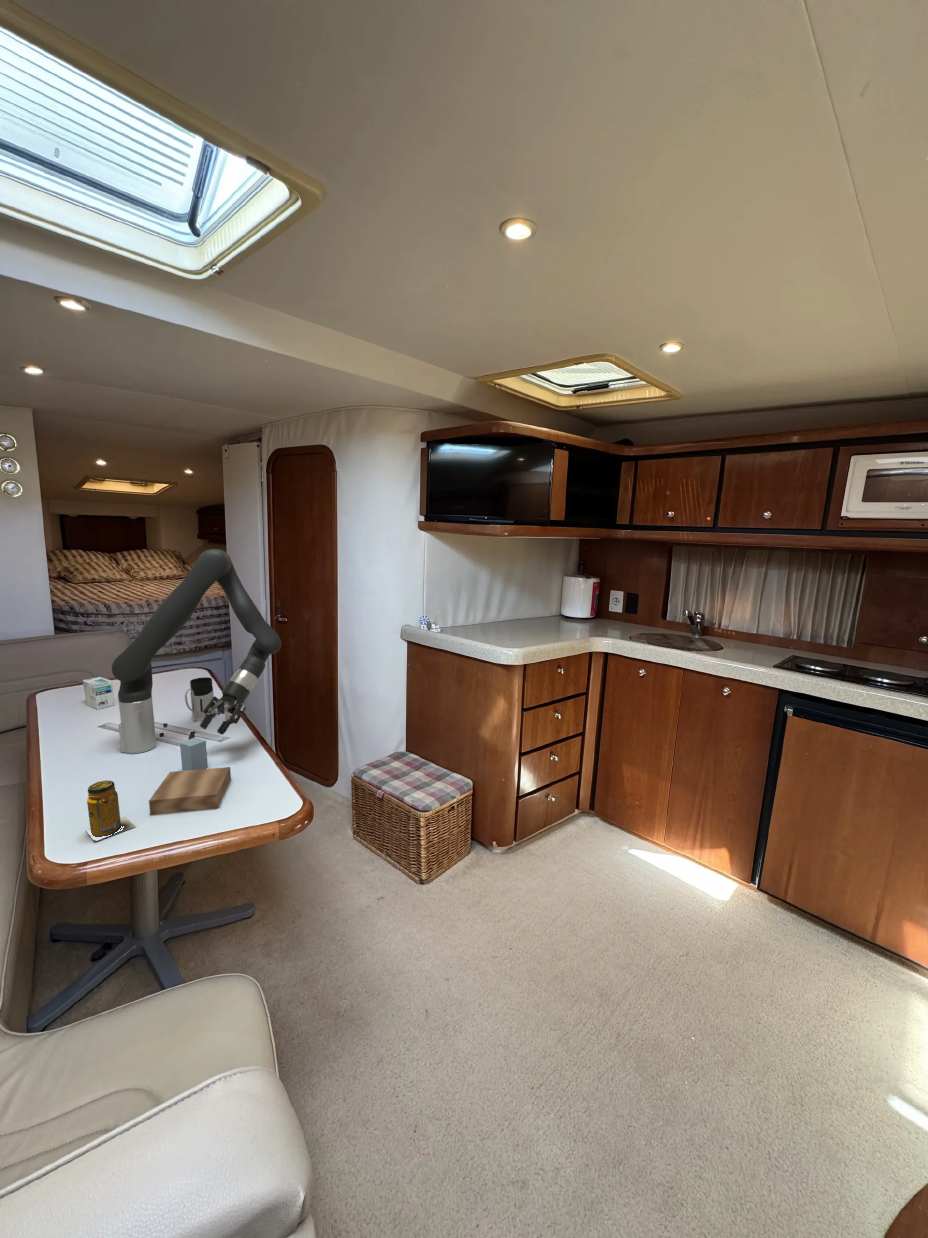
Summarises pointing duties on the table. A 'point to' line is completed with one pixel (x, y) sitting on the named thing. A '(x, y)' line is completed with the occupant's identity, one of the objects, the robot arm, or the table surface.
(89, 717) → the table surface
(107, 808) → the condiment
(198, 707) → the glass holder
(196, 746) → the slate block
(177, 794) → the walnut plinth
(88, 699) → the light bulb box
